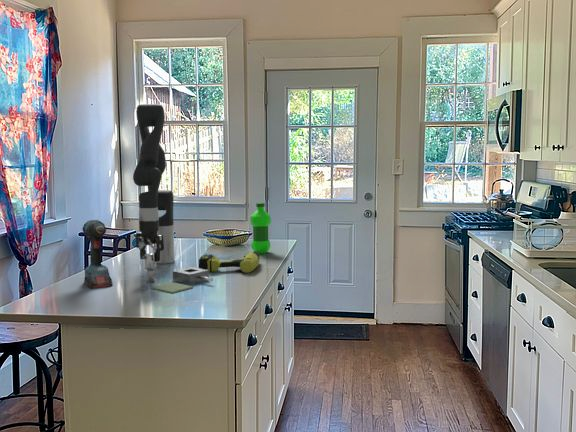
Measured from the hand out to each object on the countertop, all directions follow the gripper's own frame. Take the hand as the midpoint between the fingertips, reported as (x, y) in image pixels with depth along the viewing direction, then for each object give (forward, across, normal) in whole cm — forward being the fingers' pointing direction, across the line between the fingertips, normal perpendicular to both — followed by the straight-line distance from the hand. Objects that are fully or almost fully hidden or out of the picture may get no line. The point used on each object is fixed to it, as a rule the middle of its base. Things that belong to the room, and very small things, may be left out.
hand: (150, 260), depth 224 cm
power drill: (+9, -13, -15) cm, 22 cm away
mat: (+9, +15, -2) cm, 17 cm away
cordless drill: (+9, +6, +39) cm, 41 cm away
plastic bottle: (+8, -7, +74) cm, 75 cm away
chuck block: (+9, +14, +11) cm, 20 cm away
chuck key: (+9, 0, 0) cm, 9 cm away
